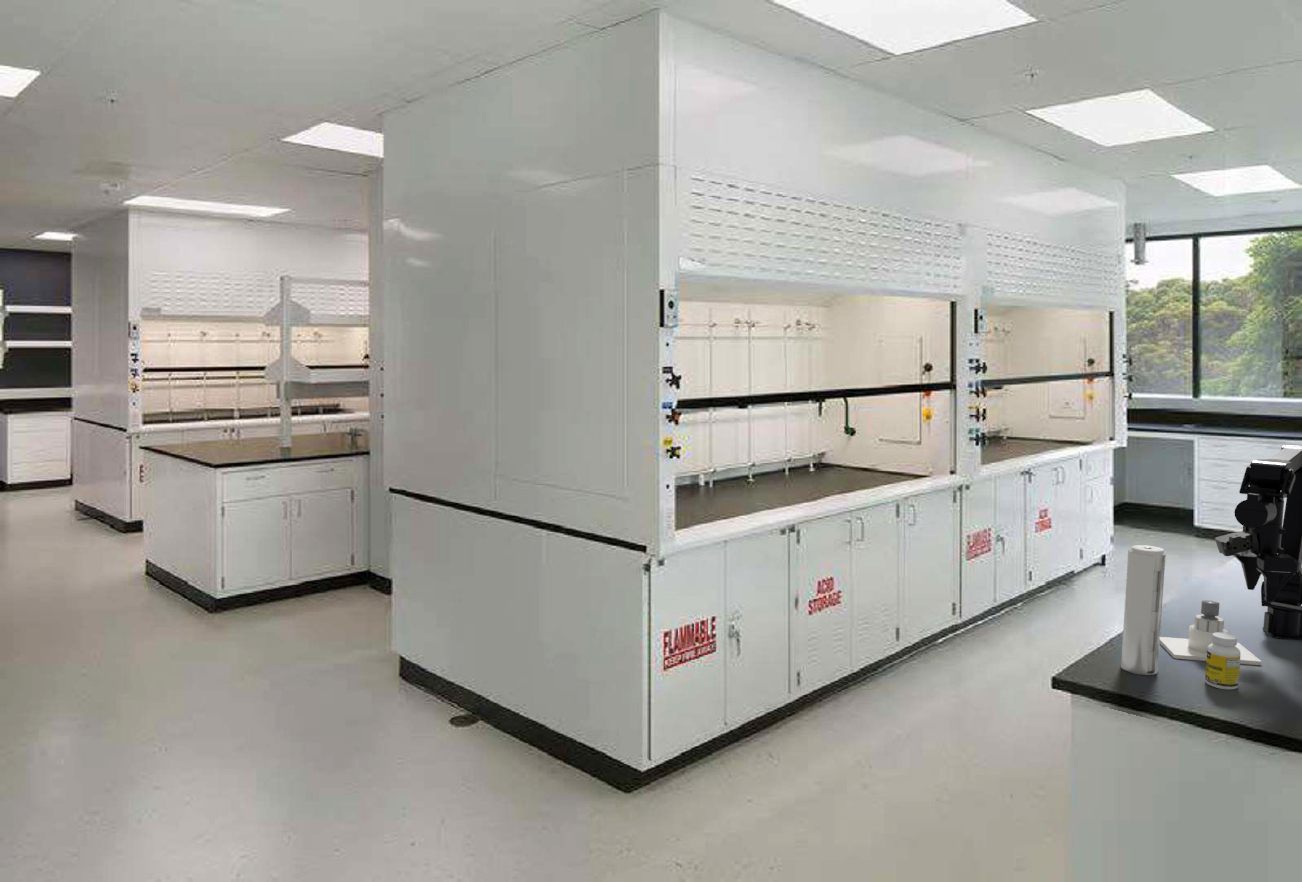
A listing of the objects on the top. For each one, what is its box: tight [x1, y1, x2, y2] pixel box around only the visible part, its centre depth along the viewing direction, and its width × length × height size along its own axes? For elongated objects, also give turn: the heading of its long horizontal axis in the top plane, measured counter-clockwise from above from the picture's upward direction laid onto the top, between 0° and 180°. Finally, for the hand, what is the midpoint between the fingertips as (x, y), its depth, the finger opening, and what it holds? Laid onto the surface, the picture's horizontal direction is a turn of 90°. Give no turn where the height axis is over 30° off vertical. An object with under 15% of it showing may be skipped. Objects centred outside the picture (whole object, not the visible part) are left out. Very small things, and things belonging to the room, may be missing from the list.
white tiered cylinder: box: [1187, 613, 1229, 653], centre depth 189 cm, size 7×7×7 cm
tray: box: [1160, 636, 1263, 666], centre depth 189 cm, size 16×12×1 cm
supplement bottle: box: [1204, 632, 1241, 691], centre depth 170 cm, size 5×5×10 cm
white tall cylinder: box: [1120, 544, 1166, 676], centre depth 178 cm, size 6×6×25 cm
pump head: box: [1200, 599, 1220, 620], centre depth 189 cm, size 3×3×6 cm
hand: (1259, 595), depth 186 cm, fingers open, 9 cm apart
